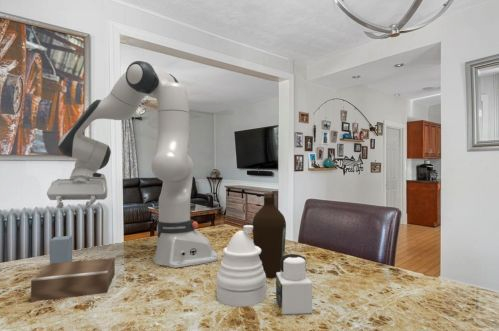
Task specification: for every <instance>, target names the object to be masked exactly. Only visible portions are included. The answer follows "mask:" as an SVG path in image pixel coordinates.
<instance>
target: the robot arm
mask: <svg viewBox="0 0 499 331" xmlns="http://www.w3.org/2000/svg"><path fill="white" fill-rule="evenodd" d="M146 97H150V98H152V99H156V103H157V140H156V145H155V151H154V158H153V159H152V161H151V171H152V173H153V175H154V176H155V177H156V178H157V179H158V180H160V181H162V184H161V185H162V186H161V191H160V195H159V197H158V220H157V224H156V236H157V243H156V251H155V255H154V258H153V262H154V264H156V265H159V266H160V265H161V266H163V267H164V266H166V267H170V268H174V269H176V268H183V267H188V266H193V265H194V266H195V265H200V264H207V263H212V262H216V261H217V260H218V252H216V251H215V250H214V249H212V246H211V242H210V240H209V238H207V237H206V236H205V235H204V234H202V232H200V231H199V230H197V228H198V227H199V223H198V222H197V221H196V220H193V219H191V195H192V187H193V181H194V180H193V176H194V170H195V169H194V168H195V167H194V166H195V165H194V161H193V160H192V158H191V156H189V154H188V152H187V151H188V144H189V138H190V134H191V133H190V105H189V98H188V93H187V89H186V87H185V86H184V85H183V84H182V83H180V82H179V81H178V80H177V78H176V77H175V76H174V75H172V74H171V73H169V72H167V71H166V70H164V69H162V68H160V67H159V66H156V65H154V64H151V63H149V62H147V61H141V60H135V61H133V62H131V63H130V64H129V65H128V67H127V68H126V72H124V73H123V74H122V75H121V76H120V77H119V79H118V80H117V81H116V83H115V84H114V85H113V87H112V89H111V90H110V92H109V94H108V95H107V96H105V97H104V98H103V99H96V100H94V101H93V102H92V103H91V104H90V105H89V106H88V107H87V108H86V109H85V111H84V112H83V113H81V115H80V117H78V119H77V120H76V121H75V122H74V124H73V125H71V126H72V127H70V128H69V129H68V131H66V132H65V133H64V134H63V135H62V136H61V137H60V139H59V140H58V146H57V148H58V150H59V152H60V153H61V154H62V155H63V156H66V157H69V158H73V159H76V161H75V162H74V168H73V169H72V172H71V174H70V176H69V178H66V179H65V178H64V179H62V178H58V179H56V180H55V179H54V180H52V182H51V184H50V186H49V187H48V189H47V191H46V196H47V197H48V199H49V200H50V201H56V202H57V204H56V207H57V209H63V207H64V202H63V201H76V200H77V201H81V200H82V201H83V200H84V201H85V200H87V201H85V208H86V209H90V208H92V205H93V204H94V203H95V202H96V201H98V200H99V201H101V200H106V199H107V197H108V186H107V185H108V184H107V179H106V175H105V174H103V173H99V172H98V171H99V170H100V171H101V169H103V168H105V167H106V166H107V165H108V163H109V161H110V157H111V153H112V150H111V148H110V146H109V145H108V144H106V143H104V142H101V141H99V140H96V139H93V138H92V137H89V136H86V135H84V134H83V133H84V132H85V131H86V130H87V128H88V127H89V126H90V125H91V123H93V122H94V121H96V120H101V119H103V120H104V119H105V120H114V121H123V120H128V119H130V118H132V117H133V116H134V115H135V113H136V112H137V110H138V109H139V107H140V104H141V103H142V101H143V99H144V98H146Z"/></svg>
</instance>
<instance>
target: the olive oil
mask: <svg viewBox="0 0 499 331" xmlns="http://www.w3.org/2000/svg"><path fill="white" fill-rule="evenodd" d="M263 193H264V194H263V195H264V197H263V205H262V207H261V208H260V209H259V210H258V211H257V212H256V213H255V214H254V216H253V219H252V226H253V230H252V241H253V243H254V245H255V246H257V247H259V248H261V253H260V254H259V258H260V260H261V261H262V266H263V269H264V272H265V274H266V278H276V273H277V272H281V257H282V256H284V255H286V253H285V252H286V250H285V249H286V237H287V236H286V235H287V222H286V219H285V216H284V214H283V213H282V212H281V211H280V210H279V209H278V208H277V206H276V205H275V193H274V192H263Z"/></svg>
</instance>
